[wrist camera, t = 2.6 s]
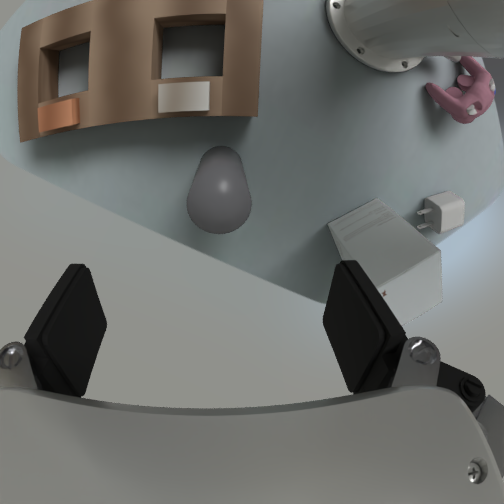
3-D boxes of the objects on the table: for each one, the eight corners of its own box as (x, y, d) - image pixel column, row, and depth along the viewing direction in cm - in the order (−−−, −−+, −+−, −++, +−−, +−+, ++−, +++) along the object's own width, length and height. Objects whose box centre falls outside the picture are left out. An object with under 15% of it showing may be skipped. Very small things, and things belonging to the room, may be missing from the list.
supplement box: (343, 267, 36) (384, 338, 25) (325, 222, 32) (372, 289, 21) (391, 242, 35) (443, 303, 24) (378, 195, 31) (442, 249, 20)
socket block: (258, -3, 19) (266, -23, 14) (253, 114, 25) (259, 117, 21) (41, 31, 16) (13, 26, 12) (40, 135, 23) (11, 146, 18)
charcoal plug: (241, 143, 27) (253, 173, 16) (240, 180, 29) (250, 233, 18) (201, 143, 26) (185, 174, 16) (201, 181, 28) (188, 234, 18)
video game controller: (428, 108, 27) (471, 137, 23) (420, 83, 23) (469, 112, 19) (462, 70, 23) (503, 94, 19) (457, 45, 20) (503, 68, 16)
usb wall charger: (446, 214, 33) (463, 227, 30) (409, 227, 34) (425, 241, 30) (446, 189, 31) (465, 200, 28) (409, 200, 32) (426, 213, 28)
